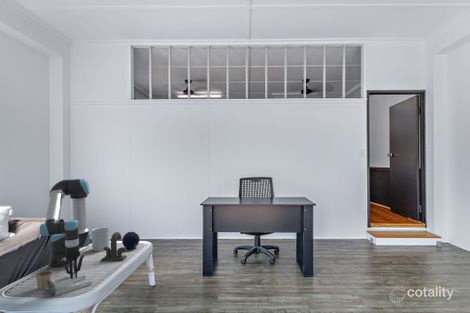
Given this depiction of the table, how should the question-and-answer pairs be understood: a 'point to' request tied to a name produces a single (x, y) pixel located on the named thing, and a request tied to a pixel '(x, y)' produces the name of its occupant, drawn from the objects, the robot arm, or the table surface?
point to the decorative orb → (130, 240)
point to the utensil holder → (100, 238)
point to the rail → (54, 292)
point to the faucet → (114, 250)
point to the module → (62, 283)
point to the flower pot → (43, 279)
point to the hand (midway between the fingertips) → (73, 283)
